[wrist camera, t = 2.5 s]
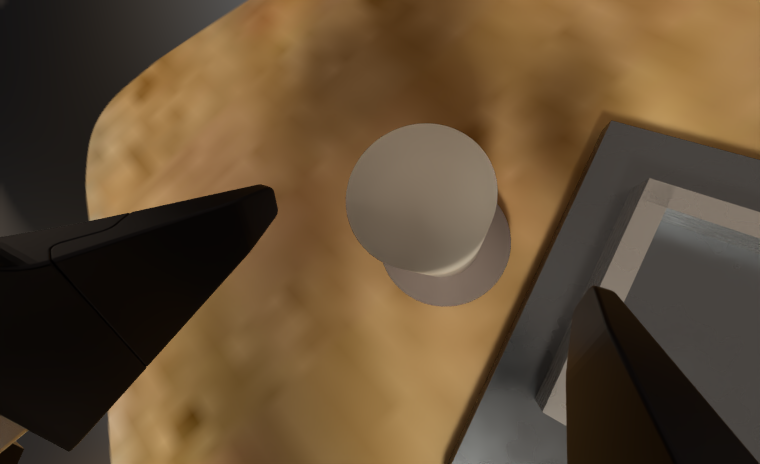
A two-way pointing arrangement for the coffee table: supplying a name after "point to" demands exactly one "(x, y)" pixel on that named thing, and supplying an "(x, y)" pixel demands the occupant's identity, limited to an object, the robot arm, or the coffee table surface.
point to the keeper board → (636, 290)
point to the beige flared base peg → (430, 213)
